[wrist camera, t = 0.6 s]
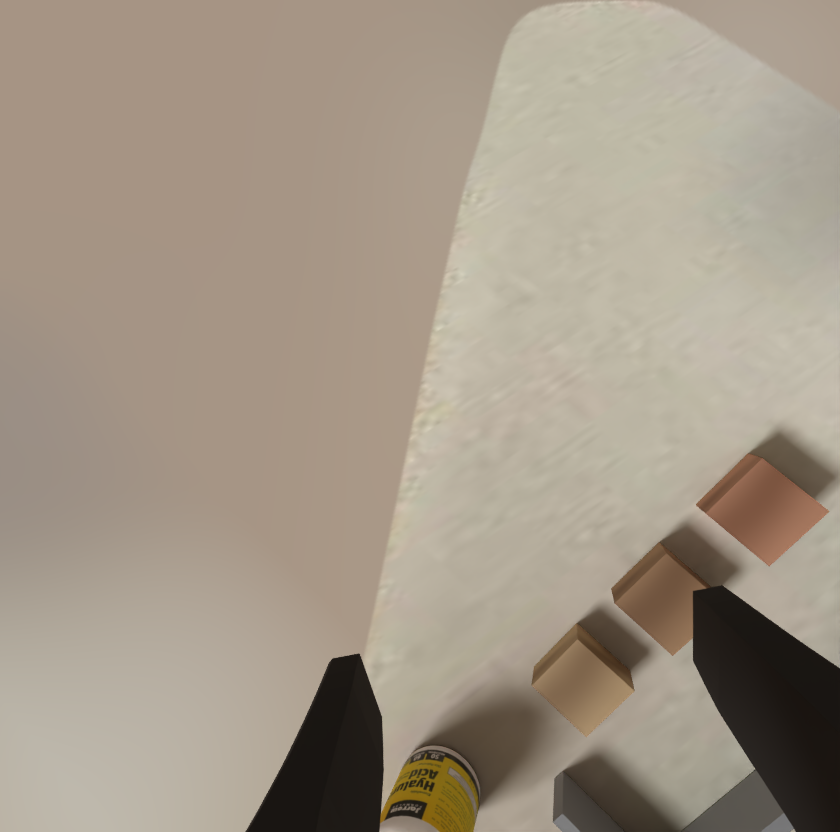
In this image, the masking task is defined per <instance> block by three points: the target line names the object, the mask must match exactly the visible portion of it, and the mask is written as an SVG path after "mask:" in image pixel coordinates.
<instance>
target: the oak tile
mask: <svg viewBox="0 0 840 832" xmlns="http://www.w3.org/2000/svg"><path fill="white" fill-rule="evenodd" d="M532 686H533V687H534V688H535V689H536V690H537V691H538V692H539V693H540V694H541V695H542V696H543V697H544V698H545V699H546V700H547V701H548V702H549V703H551V704H552V705H553V706H554V707H555V708H556V709H557V710H558V711H559V712H560V713H561V714H562V715H563V716H564V717H565V718H566V719H568V720H569V721H570V722H571V723H572V724H573V725H574V726H575V727H576V728H577V729H578V730H579V731H580V732H581V733H582V734H583V735H584V736H586V737H587V736H588V735H589V734H590V733H591V732H592V731H593V730H594V729H595V728H596V727H597V726H598V725H599V724H600V723H602V722H603V721H604V720H605V719H606V718H607V717H608V716H609V715H610V714H611V713H612V712H613V711H614V710H615V709H616V708H617V707H618V706H619V705H620V704H621V703H622V702H623V701H625V700H626V699H627V698H628V697H629V696H630V695H631V694H632V693H633V692H634V686H633V682H632V677H631V673H630V670H629V669H628V668H626V667H625V666H624V665H623V664H622V663H621V662H620V661H619V660H618V659H616V658H615V657H614V656H613V655H612V654H611V653H610V652H609V651H607V650H606V649H605V648H604V647H603V646H602V645H601V644H600V643H599V642H597V641H596V640H595V639H594V638H593V637H592V636H591V635H590V634H588V633H587V632H586V631H585V630H584V629H583V628H582V627H581V626H580V625H578V624H577V623H576V624H575V625H574V626H573V628H572V629H571V630H570V631H569V632H568V633H567V634H566V635H565V636H564V637H563V638H562V639H561V640H560V641H559V642H558V643H557V644H556V645H555V646H554V647H553V648H552V649H551V650H550V651H549V652H548V653H547V654H546V655H545V656H544V657H543V658H542V659H541V660H540V661H539V662H538V663H537V664H536V665H535V666H534V672H533V679H532Z"/></svg>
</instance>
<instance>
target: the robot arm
mask: <svg viewBox="0 0 840 832" xmlns="http://www.w3.org/2000/svg"><path fill="white" fill-rule="evenodd" d="M693 661H694V663H695V666H696V668H697V670H698V672H699V674H700V676H701V678H702V680H703V682H704V684H705V686H706V688H707V690H708V692H709V694H710V696H711V698H712V700H713V701H714V703H715V705H716V707H717V709H718V711H719V713H720V714H721V716H722V717H723V719H724V721H725V722H726V724H727V725H728V727H729V728H730V730H731V732H732V733H733V735H734V736H735V738H736V739H737V741H738V743H739V744H740V746H741V747H742V749H743V750H744V752H745V754H746V755H747V757H748V758H749V760H750V761H751V763H752V764H753V766H754V767H755V769H756V771H757V772H758V774H759V775H760V777H761V778H762V780H763V781H764V783H765V784H766V786H767V788H768V789H769V791H770V792H771V794H772V795H773V797H774V798H775V800H776V801H777V803H778V805H779V806H780V808H781V809H782V811H783V812H784V814H785V815H786V817H787V818H788V820H789V822H790V823H791V825H792V826H793V828H794V829H795V831H796V832H840V668H838V667H837V666H836V665H834V664H833V663H831V662H830V661H828V660H827V659H825V658H824V657H822V656H821V655H819V654H818V653H816V652H815V651H813V650H812V649H810V648H809V647H807V646H806V645H805V644H803V643H802V642H800V641H799V640H797V639H796V638H795V637H793V636H792V635H790V634H789V633H787V632H786V631H785V630H783V629H782V628H780V627H779V626H778V625H776V624H775V623H774V622H772V621H771V620H769V619H768V618H767V617H765V616H764V615H762V614H761V613H760V612H758V611H757V610H756V609H754V608H753V607H751V606H750V605H749V604H747V603H746V602H745V601H743V600H742V599H740V598H739V597H738V596H736V595H735V594H734V593H732V592H731V591H729V590H728V589H726V588H725V587H724V586H717V587H711V588H706V589H701V590H695V591H693ZM383 770H384V767H383V733H382V716H381V713H380V710H379V707H378V705H377V702H376V699H375V696H374V693H373V690H372V688H371V685H370V682H369V679H368V676H367V673H366V670H365V668H364V665H363V662H362V659H361V656H360V654H354V655H349V656H344V657H338V658H333V659H332V660H331V661H330V662H329V664H328V667H327V669H326V672H325V674H324V676H323V679H322V681H321V683H320V686H319V688H318V691H317V693H316V695H315V697H314V700H313V702H312V704H311V706H310V709H309V711H308V713H307V715H306V717H305V720H304V722H303V724H302V726H301V729H300V730H299V732H298V734H297V737H296V739H295V741H294V743H293V745H292V747H291V749H290V751H289V753H288V755H287V757H286V759H285V761H284V763H283V765H282V767H281V769H280V771H279V773H278V774H277V777H276V778H275V780H274V782H273V784H272V786H271V787H270V789H269V791H268V793H267V795H266V797H265V798H264V800H263V802H262V804H261V806H260V808H259V809H258V811H257V813H256V815H255V817H254V818H253V820H252V822H251V823H250V825H249V827H248V829H247V830H246V832H379V831H380V817H381V802H382V787H383Z"/></svg>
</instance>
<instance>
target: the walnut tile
mask: <svg viewBox="0 0 840 832" xmlns="http://www.w3.org/2000/svg"><path fill="white" fill-rule="evenodd" d="M706 588H711V587H710V586H709V585H708V584H707V583H706V582H705V581H703V580H702V579H701V578H700V577H699V576H698V575H697V574H695V573H694V572H693V571H692V570H691V569H690V568H688V567H687V566H686V565H685V564H684V563H683V562H682V561H680V560H679V559H678V558H677V557H676V556H675V555H673V554H672V553H671V552H670V551H669V550H668V549H667V548H665V547H664V546H663V545H662V544H661V543H660V542H659V543H658V544H657V545H656V546H655V547H654V548H653V549H652V550H651V551H649V552H648V553H647V554H646V555H645V556H644V557H643V558H642V559H641V560H640V561H639V562H638V563H637V564H636V565H635V566H634V567H633V568H632V569H631V570H630V571H629V572H628V573H627V574H626V575H625V576H624V577H623V578H622V579H621V580H620V581H619V582H618V583H617V584H616V585H615V586H614V587H612V588H611V590H612V594H613V598H614V603H615V604H616V605H617V606H618V607H619V608H620V609H622V610H623V611H624V612H625V613H626V614H627V615H628V616H629V617H630V618H632V619H633V620H634V621H635V622H636V623H637V624H638V625H639V626H640V627H641V628H643V629H644V630H645V631H646V632H647V633H648V634H649V635H650V636H651V637H652V638H654V639H655V640H656V641H657V642H658V643H659V644H660V645H661V646H662V647H663V648H665V649H666V650H667V651H668V652H669V653H670V654H671V655H672V656H673V655H674V654H675V653H676V652H678V651H679V650H680V649H681V648H682V647H683V646H684V645H685V644H686V643H687V642H689V641H690V640H691V639H692V638H693V591H695V590H701V589H706Z"/></svg>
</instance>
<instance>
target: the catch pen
mask: <svg viewBox="0 0 840 832" xmlns="http://www.w3.org/2000/svg"><path fill="white" fill-rule="evenodd" d="M553 823H554V824H555V825H556V826H557V827H558V828H559V829H560V830H561V831H562V832H625V831H624V830H623V829H622V828H621V827H620V826H619V825H618V824H617V823H616V822H615V821H614V820H613V819H611V818H610V817H609V816H608V815H607V814H606V813H605V812H604V811H603V810H602V809H601V808H600V807H599V806H598V805H597V804H596V803H595V802H594V801H593V800H592V799H591V798H590V797H589V796H588V795H587V794H586V793H585V792H584V791H583V790H582V789H581V788H580V787H579V786H578V785H577V784H576V783H575V782H574V781H573V780H572V779H571V778H570V777H569V776H568V775H567V774H566V773H565V772H564V771H563V772H561V773H560V774H559V775H558V776H557V777H556V778H555V779H554V806H553ZM793 829H794V828H793V826H792V825H791V823H790V822H789V820H788V818H787V817H786V815H785V814H784V812H783V811H782V809H781V808H780V806H779V805H778V803H777V801H776V800H775V798H774V797H773V795H772V794H771V792H770V791H769V789H768V788H767V786H766V784H765V783H764V781H763V780H762V778H761V777H760V775H759V774H758V772H757V771H756V770H755V771H754V772H752V773H751V774H750V775H749V776H748V777H746V778H745V779H744V780H743V781H742V782H740V783H739V784H738V785H737V786H736V787H734V788H733V789H732V790H731V791H730V792H728V793H727V794H726V795H725V796H724V797H722V798H721V799H720V800H719V801H718V802H716V803H715V804H714V805H713V806H712V807H710V808H709V809H708V810H707V811H706V812H704V813H703V814H702V815H701V816H700V817H698V818H697V819H696V820H695V821H694V822H692V823H691V824H690V825H689V826H687V827H686V828H685V829H684V830H683V831H681V832H790V831H791V830H793Z"/></svg>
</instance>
